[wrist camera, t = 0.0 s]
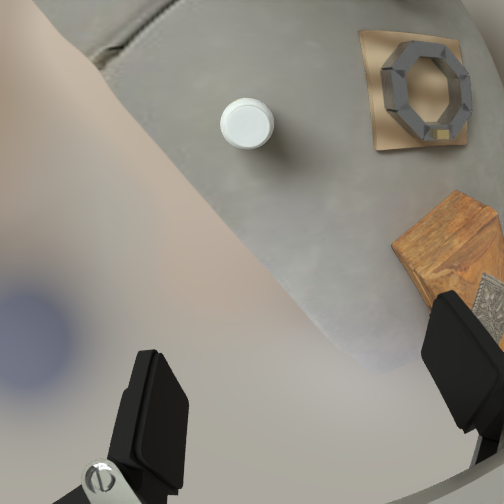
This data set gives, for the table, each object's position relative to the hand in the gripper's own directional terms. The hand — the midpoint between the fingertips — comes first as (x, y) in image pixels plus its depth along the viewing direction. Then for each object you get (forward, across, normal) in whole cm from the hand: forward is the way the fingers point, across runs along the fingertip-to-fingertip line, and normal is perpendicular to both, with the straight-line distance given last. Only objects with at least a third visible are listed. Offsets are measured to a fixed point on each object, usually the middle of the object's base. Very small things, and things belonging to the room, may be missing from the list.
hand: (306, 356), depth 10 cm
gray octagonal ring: (+30, -24, -7) cm, 39 cm away
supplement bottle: (+31, 0, -5) cm, 32 cm away
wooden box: (+32, -32, +25) cm, 51 cm away
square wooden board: (+31, -24, -7) cm, 40 cm away
